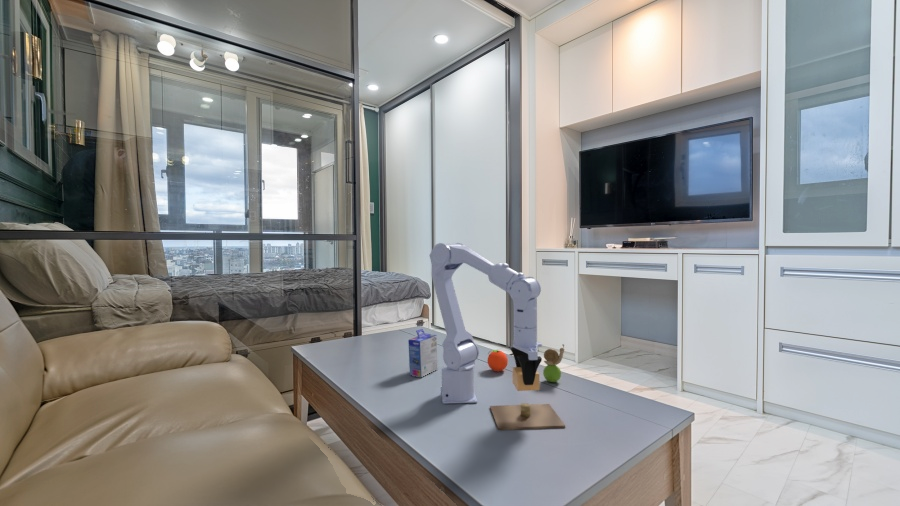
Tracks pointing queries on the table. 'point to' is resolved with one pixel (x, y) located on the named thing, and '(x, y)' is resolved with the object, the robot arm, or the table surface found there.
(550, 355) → the snail figurine
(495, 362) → the clementine
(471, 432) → the table surface
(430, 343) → the ink cartridge box
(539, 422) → the post board
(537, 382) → the cardboard-colored cube
